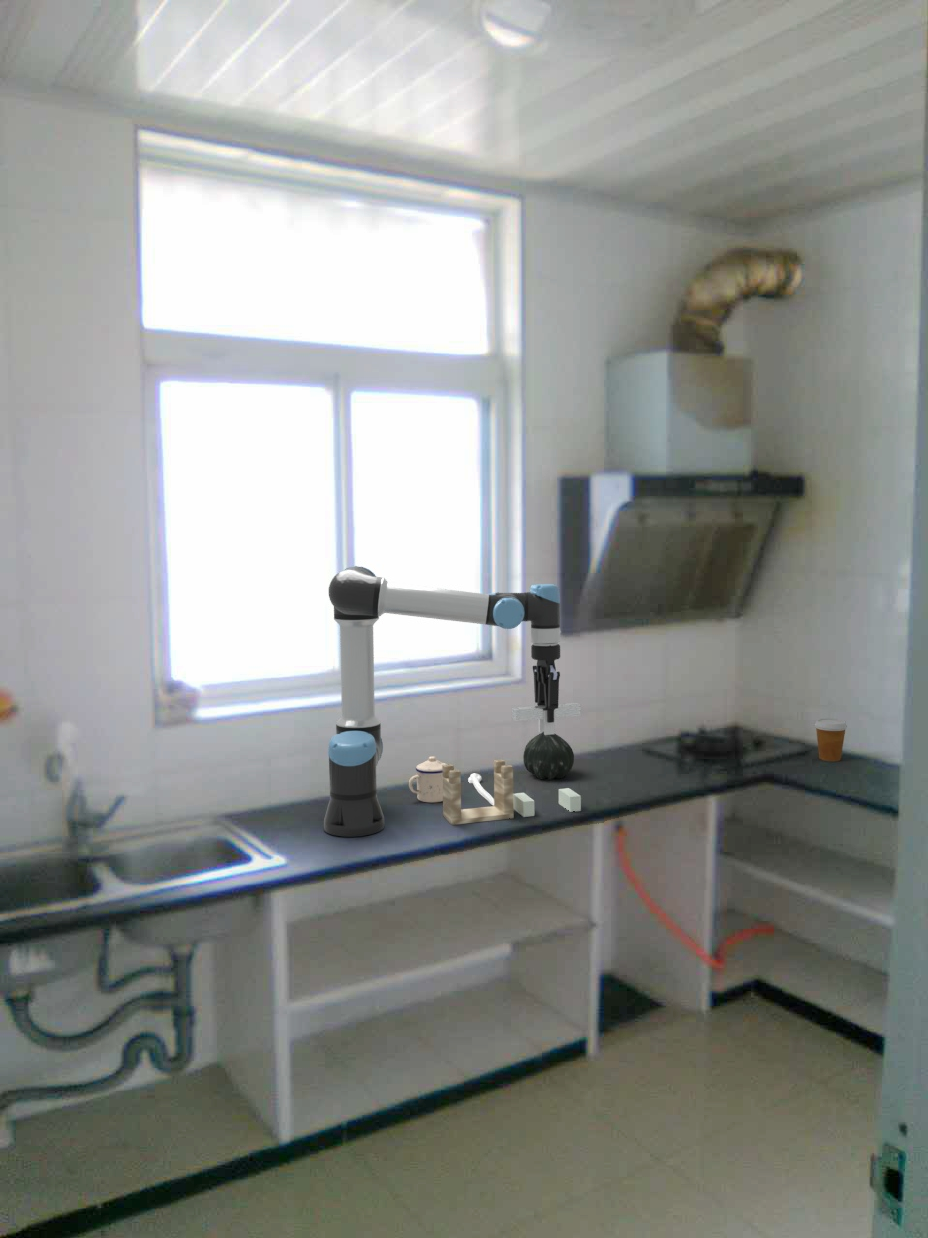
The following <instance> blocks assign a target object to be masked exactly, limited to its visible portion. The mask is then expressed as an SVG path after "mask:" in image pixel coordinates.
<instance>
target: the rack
mask: <svg viewBox="0 0 928 1238" xmlns="http://www.w3.org/2000/svg"><path fill="white" fill-rule="evenodd" d="M442 772H443V801H442V815H443V817H444V818H445V820H447V821H448V823H449V824H450V825H452V826H455V825H463V824H473V823H479V822H482V823H483V822H491V821H499V820H501V821H502V820H507V819H508V820H510V819H514V809H513V794H514V765H513V766H512V765H511V764H506V761H505V760H504V759H494V760H493V798H494V806H493V805H492V806H481V807H474V808H473V807H472V808H463V809H462V783H461V782H462V781H461V780H462V777H461V770H459V769H455V766H454V765H453V764H452V763H450V764H449V763H448V764H447V765H442ZM509 818H510V819H509Z"/></svg>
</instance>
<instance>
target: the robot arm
mask: <svg viewBox="0 0 928 1238" xmlns="http://www.w3.org/2000/svg"><path fill="white" fill-rule="evenodd" d="M560 597H561V596H560V588H559V586H558V585H556V584H553V583H537V584H531V586H530V590H529V591H527V592H493V593H491V592H489V593H487V594H486V593H479V592H472V591H463V590H453V589H446V588H445V589H444V588H439V587H437V588H436V587H429V586H428V587H427V586H421V585H420V586H419V585H413V584H406V583H405V584H404V583H396V582H388V581H387V579H386V578H385V577H380V576H377V575H376V574H375V573H374V572H373V571H372V570H370V569H368V568H367V567H364V566H359V565H358V566H357V565H355V566H349V567H346V568H344V569H343V570H341V571H339V572H337V573H336V574H335V575H334V576H333V578H331V580H330V583H329V586H328V598H329V601H330V603H331V605H332V607H333V620H334V622H336V623H337V624H338V625H339V631H340V632H339V633H340V634H339V637H340V638H339V639H340V640H339V641H340V642H339V643H340V682H341V683H340V687H341V689H340V690H341V716H340V718H339V719H338V720H336V722H335V723H336V724H335V729H336V730H335V731H336V732H335V734H334V735H332V737H331V738H330V740H329V742H328V746H327V747H328V748H327V754H328V768H329V769H328V773H329V801H328V804H327V809H326V812H325V815H324V818H323V829H324V832H326V833H327V834H329V835H331V836H332V835H333V836H337V837H346V838H347V837H348V838H351V837H353V838H354V837H363V836H364V837H365V836H368V835H373V834H376V833H379V832H381V831H383V830H384V828H385V816H384V814H383V810H382V807H381V805H380V802H379V799H378V796H377V794H378V793H377V792H378V790H377V766H378V763H379V762H380V760H381V758H382V754H383V751H384V750H383V749H384V744H383V738H382V737H381V736H382V735H381V733H382V732H381V731H382V728H381V720H380V719H379V718H378V717H377V716H376V714H375V711H376V709H375V708H376V707H375V661H374V660H375V659H374V658H375V657H374V656H375V655H374V652H375V651H374V647H375V646H374V625H375V624H376V623H377V621H379V619H380V617H381V616H382V615H384V614H392V615H400V616H409V617H417V618H418V617H419V618H427V619H434V620H444V621H453V622H459V623H460V622H461V623H470V624H479V625H486V626H491V627H492V626H493V627H500V628H502V629H505V630H506V629H507V630H511V629H515V628H517V627H519V625H521V624H522V622H530V642H531V643H532V645H531V646H530V647H531V650H530V652H531V653H530V654H531V656H530V657H531V659H532V660H535V661H536V665H533V666H532V671H533V686H534V690H533V691H534V702H535V704H537V705H536V706H541V705H545V708H543V711H544V719H539V720H538V733H542V732H544V735H550V734H556V729H555V727H556V725H555V722H556V721H555V720H556V718H555V713H554V710H555V709H557V708H558V704H559V694H560V693H559V691H560V689H559V688H560V677H561V672H560V671H557V669H556V663H555V661H556V660H559V659H561V645H560V642H561V634H562V630H561V599H560Z"/></svg>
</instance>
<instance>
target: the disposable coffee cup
mask: <svg viewBox="0 0 928 1238" xmlns="http://www.w3.org/2000/svg"><path fill="white" fill-rule="evenodd" d="M814 726H815V730H816V739H817V751H818V759H819V760H821V761H825V762H839V761H841V759H842V753H843V747H844V740H845V734H846V730H847V728H848V725H847V723H846V721H845V720H843V719H838V718H818V719H816V720H815V723H814Z"/></svg>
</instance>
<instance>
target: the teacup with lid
mask: <svg viewBox="0 0 928 1238" xmlns="http://www.w3.org/2000/svg"><path fill="white" fill-rule="evenodd" d="M442 765H448V764H447V763H445V762H441V761H440V760H437V757H436V756H429V757H428V759H427V760H425V761H424V762H422V763H419V764H417V765H416V767H415V770H416V774H415V775H412V776H411V777H410V779H409V780H408V787H409V788H408V789H409V790H410V791H411V792H412V793H413V794H416V796H417V797H416V798H417V800H418V801H420V802H423V803H440V802H443V772H442ZM415 779H416V789H414V786H413V782H414V781H415Z"/></svg>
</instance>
